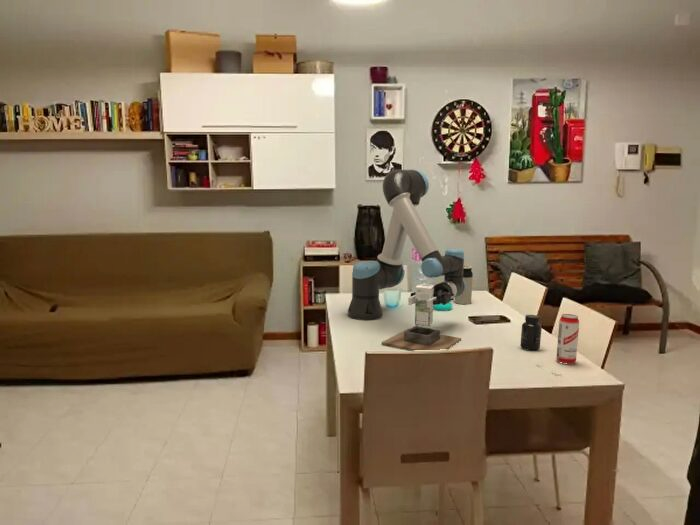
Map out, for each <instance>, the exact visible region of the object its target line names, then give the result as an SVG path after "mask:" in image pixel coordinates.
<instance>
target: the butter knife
mask: <svg viewBox="0 0 700 525" xmlns="http://www.w3.org/2000/svg"><path fill="white" fill-rule="evenodd" d="M535 365H536V367H537V368H540V367H541V368H540V369H542V367H543V366H542V365H539V364H535ZM551 373H552V375H553V374H554V375H553V376H555V377H558V376H561V377H563V376H562V375H563V374H562V373H560V374H556V373H553V372H551ZM551 373H550V374H551Z"/></svg>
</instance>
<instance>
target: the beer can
mask: <svg viewBox="0 0 700 525" xmlns="http://www.w3.org/2000/svg"><path fill="white" fill-rule="evenodd" d="M558 323H559V324H558V335H557V343H556V344H557V347H556V357H555V358H556V360H557V362H558V361H559V362H558V363H560V362H562V363H561V364H563V363H567V364H566V365H573V364H574V363H576V362H577V353H578V340H579V333H580V332H579V329H580V320H579V316H578V315H576V314H572V313H562V314H561V317H560V318H559V322H558ZM572 363H573V364H572Z"/></svg>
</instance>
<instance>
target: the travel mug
mask: <svg viewBox="0 0 700 525" xmlns="http://www.w3.org/2000/svg"><path fill="white" fill-rule="evenodd" d="M472 270H473V266H472V265H468V264H464V269H463V280H464V281H465V283H466V289H465V291H464V292H463V293H462V294H461V295H459V296H457V297H454V300H453V301H454V303H455V304H458V305H470V304H472V295H473V294H472V292H473V291H472V290H473V275H474V274H473V271H472Z"/></svg>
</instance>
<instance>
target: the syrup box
mask: <svg viewBox="0 0 700 525" xmlns="http://www.w3.org/2000/svg"><path fill="white" fill-rule="evenodd" d="M434 286H435V284H434V285H433V284H425V283H424V284H421V283H418V284H417V285H416V286H415V292H416V297H415V303H414V304H415V305H414V306H415V307H414V309H415V310H414V326H420V327H431V325H432V324H433V320H434V318H433V317H434V314H433V312H434V309H433V306H432V307H430V308H427V300H429V299H431V298H433V294H434Z"/></svg>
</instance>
